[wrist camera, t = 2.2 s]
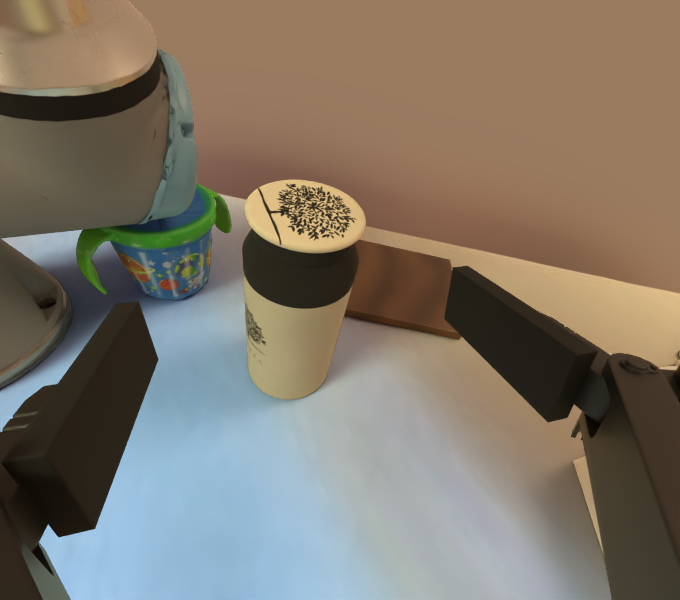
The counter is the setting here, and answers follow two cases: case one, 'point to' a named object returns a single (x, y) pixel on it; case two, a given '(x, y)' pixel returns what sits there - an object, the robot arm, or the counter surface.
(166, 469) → the counter surface
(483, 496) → the counter surface
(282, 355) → the travel mug
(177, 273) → the snack cup
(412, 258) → the walnut board
